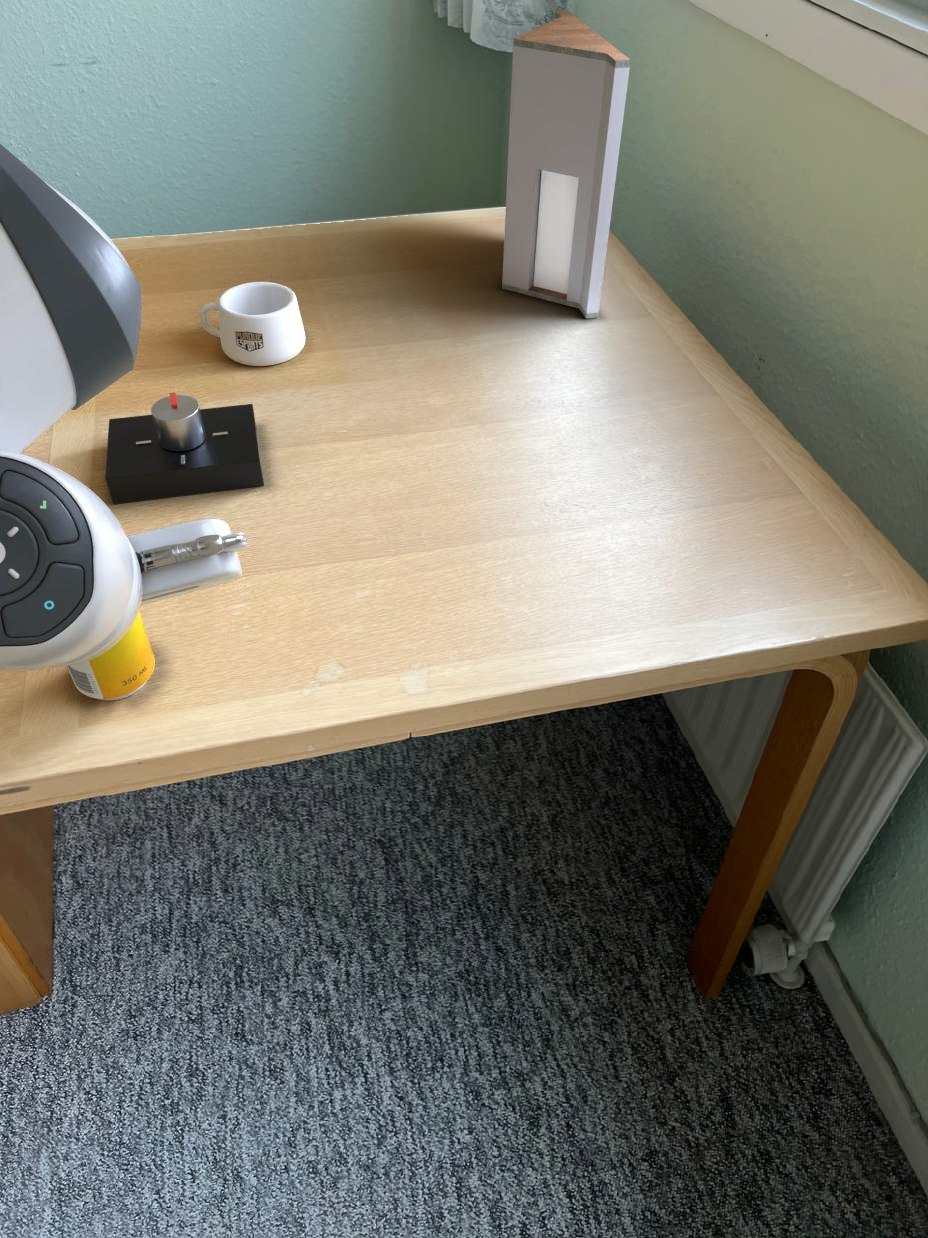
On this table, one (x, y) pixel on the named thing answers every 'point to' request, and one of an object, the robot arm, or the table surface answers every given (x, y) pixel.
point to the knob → (178, 422)
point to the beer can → (117, 667)
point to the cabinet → (562, 161)
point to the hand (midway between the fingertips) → (82, 597)
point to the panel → (183, 457)
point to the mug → (258, 323)
